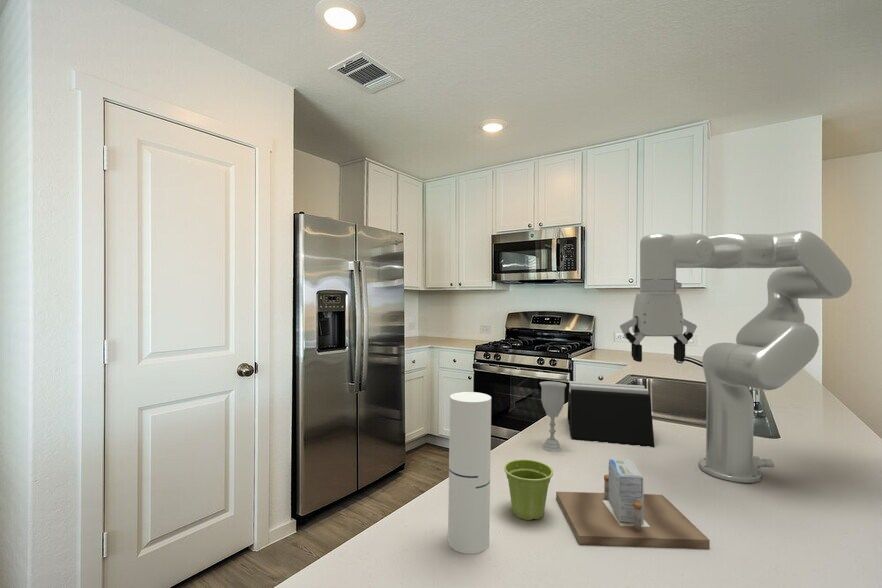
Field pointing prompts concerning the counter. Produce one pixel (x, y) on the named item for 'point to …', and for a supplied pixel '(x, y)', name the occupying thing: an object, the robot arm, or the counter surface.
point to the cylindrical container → (469, 472)
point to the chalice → (552, 409)
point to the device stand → (610, 413)
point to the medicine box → (625, 489)
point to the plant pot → (528, 487)
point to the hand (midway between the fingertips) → (658, 360)
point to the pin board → (602, 526)
